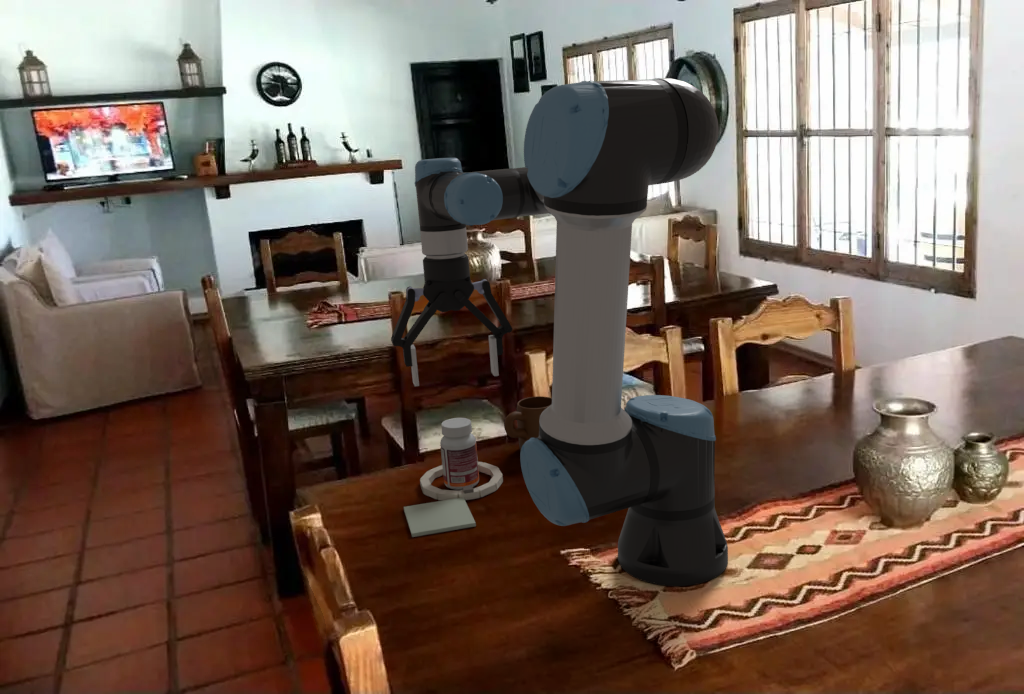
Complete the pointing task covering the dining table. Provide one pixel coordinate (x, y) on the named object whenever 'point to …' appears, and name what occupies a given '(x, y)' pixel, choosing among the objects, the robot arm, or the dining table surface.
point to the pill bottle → (459, 454)
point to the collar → (467, 491)
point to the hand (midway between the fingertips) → (455, 379)
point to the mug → (526, 418)
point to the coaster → (438, 517)
